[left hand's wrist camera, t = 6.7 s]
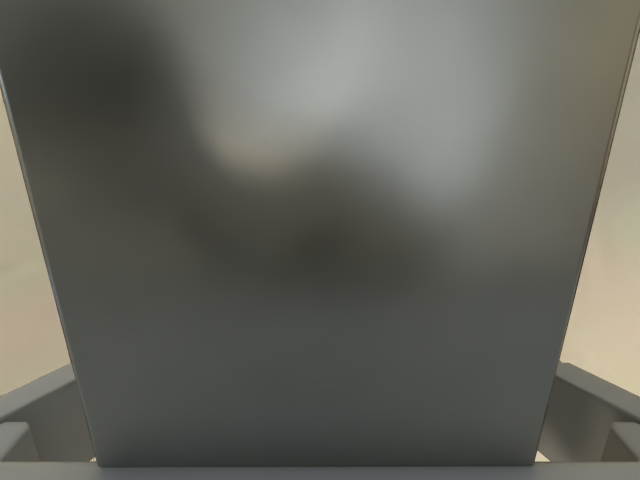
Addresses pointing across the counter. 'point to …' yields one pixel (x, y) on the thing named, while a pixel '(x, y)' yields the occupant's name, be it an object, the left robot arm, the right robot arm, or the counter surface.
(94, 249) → the bar
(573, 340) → the counter surface
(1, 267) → the counter surface
